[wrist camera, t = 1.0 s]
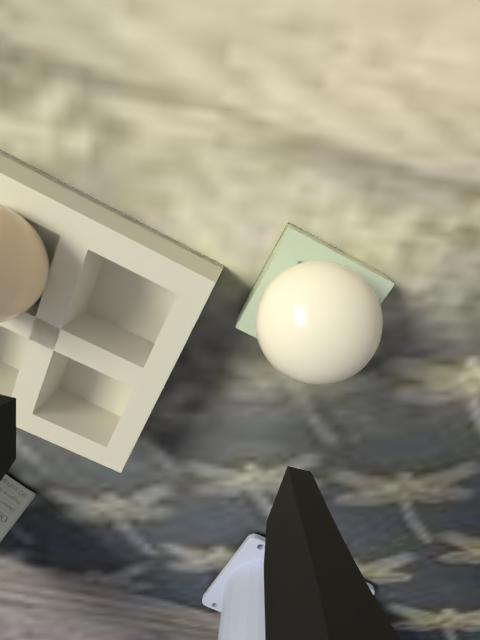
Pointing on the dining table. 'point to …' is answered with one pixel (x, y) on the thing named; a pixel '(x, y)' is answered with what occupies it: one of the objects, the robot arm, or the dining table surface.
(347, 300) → the cream egg
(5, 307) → the brown egg
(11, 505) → the supplement box
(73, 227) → the carton
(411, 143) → the dining table surface
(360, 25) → the dining table surface
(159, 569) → the dining table surface
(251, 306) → the mint square frame
